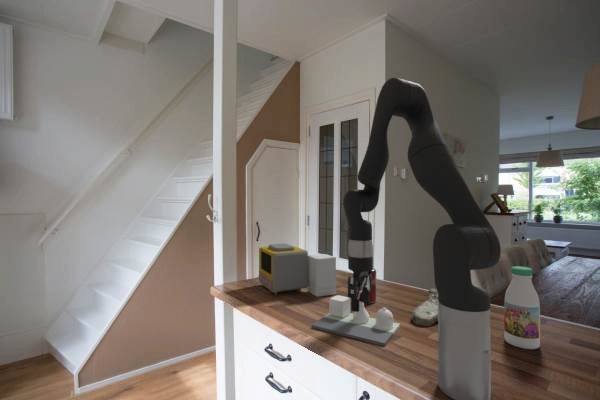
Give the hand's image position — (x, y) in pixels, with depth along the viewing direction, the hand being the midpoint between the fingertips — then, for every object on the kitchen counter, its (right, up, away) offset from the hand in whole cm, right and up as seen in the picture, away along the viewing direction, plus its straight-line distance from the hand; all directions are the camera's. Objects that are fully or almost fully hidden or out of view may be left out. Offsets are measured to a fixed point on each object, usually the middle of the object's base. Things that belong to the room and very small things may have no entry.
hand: (360, 307), depth 96 cm
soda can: (+6, -5, +21) cm, 22 cm away
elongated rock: (+28, -6, +12) cm, 31 cm away
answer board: (-2, -5, -3) cm, 6 cm away
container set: (0, -4, 0) cm, 4 cm away
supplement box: (-10, -5, +31) cm, 33 cm away
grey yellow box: (-26, -5, +37) cm, 46 cm away
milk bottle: (+40, -5, -14) cm, 42 cm away
